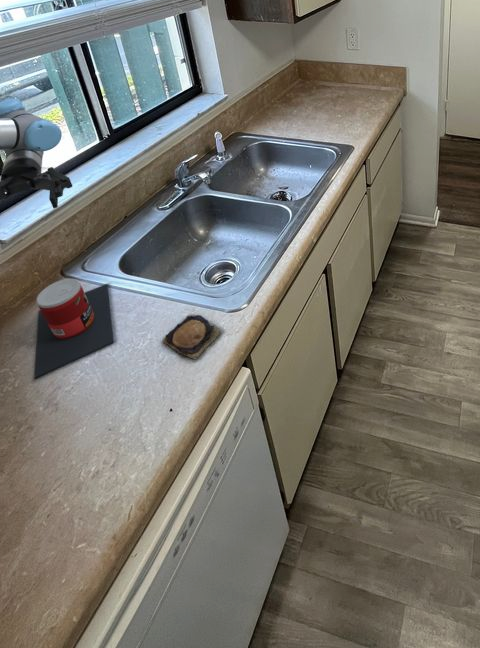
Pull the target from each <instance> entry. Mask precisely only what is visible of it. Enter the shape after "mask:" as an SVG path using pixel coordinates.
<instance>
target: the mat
mask: <svg viewBox="0 0 480 648" xmlns="http://www.w3.org/2000/svg"><path fill="white" fill-rule="evenodd" d="M108 287H109V286H108V283H105V284H103V285H101V286H98V287H96V288H93V289H91V290H87V291H85V292H84V293H85V295H86V297H87V299H88V302H89V304H90V306H91V308H92V310H93V313H94V320H93V322H92V324H91V325H90V326H89V327H88V328H87V329H86V330H85V331H84V332H82V333H81V334H79V335H77V336H74V337H72V338H68V339H60V338H57V337H56V336H55V335H54V334H53V332H52V331H51V329H50V327H49V325H48V323H47V321H46V320H45V318H44V316H43V314H42V312H41V310H40V309H39V311H38V312H39V313H38V327H37V341H36V357H35V358H36V359H35V369H34V370H35V371H34V372H35V373H34V378H35V379H39V378H40V377H42V376H45V375H48V374H49V373H51V372H54V371H55V370H59V369H60V368H62V367H65V366H67V365H69V364H72V363H73V362H75V361H78V360H79V359H82V358H84V357H86V356H88V355H91V354H92V353H95V352H97V351H99V350H101V349H103V348H105V347H107V346H109V345H110V346H111V345H112V344H114V341H115V340H114V332H113V324H112V315H111V313H112V312H111V304H110V296H109V288H108Z"/></svg>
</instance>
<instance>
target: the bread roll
mask: <svg viewBox="0 0 480 648" xmlns="http://www.w3.org/2000/svg"><path fill="white" fill-rule="evenodd" d="M221 334H222V331H221V329H220V328H218V327H217V326H215V324H214V325H213V324H212V323H210V322H209V320H208V319H206V318H205V317H203V315H200V314H196V315H186V317H185V319H184V320H183V321H181V323H178V324H176V326H175V327H174V328H173V329H171V331H169V332H168V333H167V334H165V337H164V339H163V343H164V344H165V345H166V346H168V347H170V348H171V349H172V350H175V351H176V352H178V353H179V354H181V355H183V356H185V357H187V358H190V359H193V360H197V359H198V358H199V357H200V355H202V353H204V351H205V350H206V349H208V347H209V346H210V345H211V344H212V343H213V342H214V341H215V340H216V339H217V338H218V337H219V336H220V335H221Z"/></svg>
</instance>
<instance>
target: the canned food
mask: <svg viewBox="0 0 480 648" xmlns="http://www.w3.org/2000/svg"><path fill="white" fill-rule="evenodd" d="M85 293H86V292H85V291H84V288H83V287H82V284H81V282H80V281H79V280H78V279H76V278H64V279H60V280H58V281H55V282H53V283H51V284H50V285H48V286H46V287H45V288H43V289H42V290H41V291H40V292H39V294H38V295H37V296H36V305H37V306H38V309H39V311H40V310H41V312H42V314H43V316H44V318H45V320H46V321H47V323H48V325H49V327H50V329H51V331H52V332H53V334H54V335H55V336H56V337H57V338H60V339H68V338H72V337H74V336H77V335H79V334H81V333H82V332H84V331H85V330H86V329H87V328H88V327H89V326H90V325H91V324H92V322H93V320H94V313H93V310H92V308H91V306H90V304H89V302H88V299H87V297H86V295H85Z"/></svg>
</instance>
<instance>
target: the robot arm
mask: <svg viewBox="0 0 480 648" xmlns="http://www.w3.org/2000/svg"><path fill="white" fill-rule="evenodd" d="M5 99H6V100H4V101H2V102H0V151H3V150H4V151H5V153H6V157H5V159H4V163H3V166H2V171H1V176H0V201H2V200H7V199H8V198H10V197H11V196H13V195H15V194H18V193H21V192H25V191H28V190H35V191H38V190H43V191H44V190H45V191H49V195H48V197H49V202H50V205H51V206H52V208H53V209H56V208H58V207H59V198H61V197H63V195H64V189H71V188H73V183H72V181H71V179H70V177H69V176H67V175H65V174H63V173H61V172H59V171H57V170H55V169H54V168H55V167H54V166H50V167H48V168H47V169H46V171H44V172H42V167H43V158H44V153H45V152H48V151H50V150H52V149H54V148H56V147H57V146H58V145H59V144H60V142H61V140H62V130H61V128H60V126H59V125H57V124H56V123H54V122H53V121H51V120H49V119H46V118H43V117H40V116H37V115H34V114H33V113H30V112H27V110H26V107H25V106H24V104H23V102H22V101H21V100H20V99H19V98H15V97H13V98H12V97H11V98H10V97H9V98H5Z"/></svg>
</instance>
